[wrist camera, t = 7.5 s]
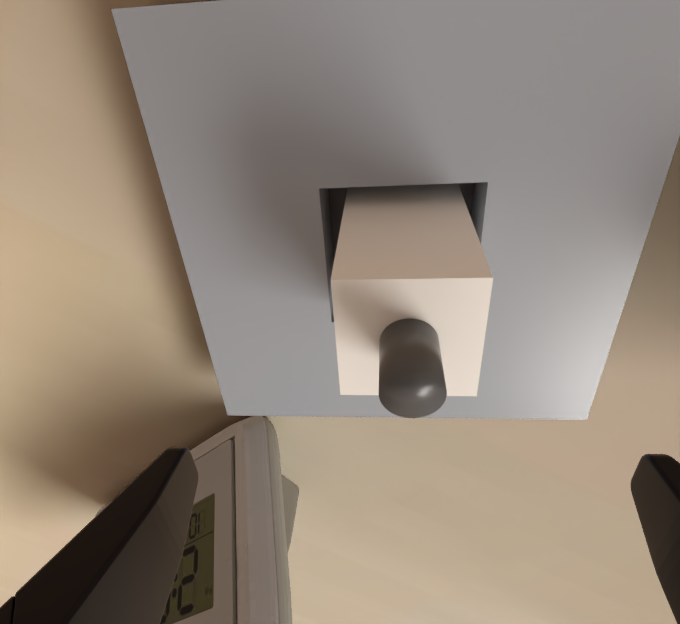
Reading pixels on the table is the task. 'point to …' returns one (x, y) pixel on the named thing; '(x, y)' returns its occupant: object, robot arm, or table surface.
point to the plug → (409, 297)
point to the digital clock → (236, 532)
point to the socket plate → (409, 173)
